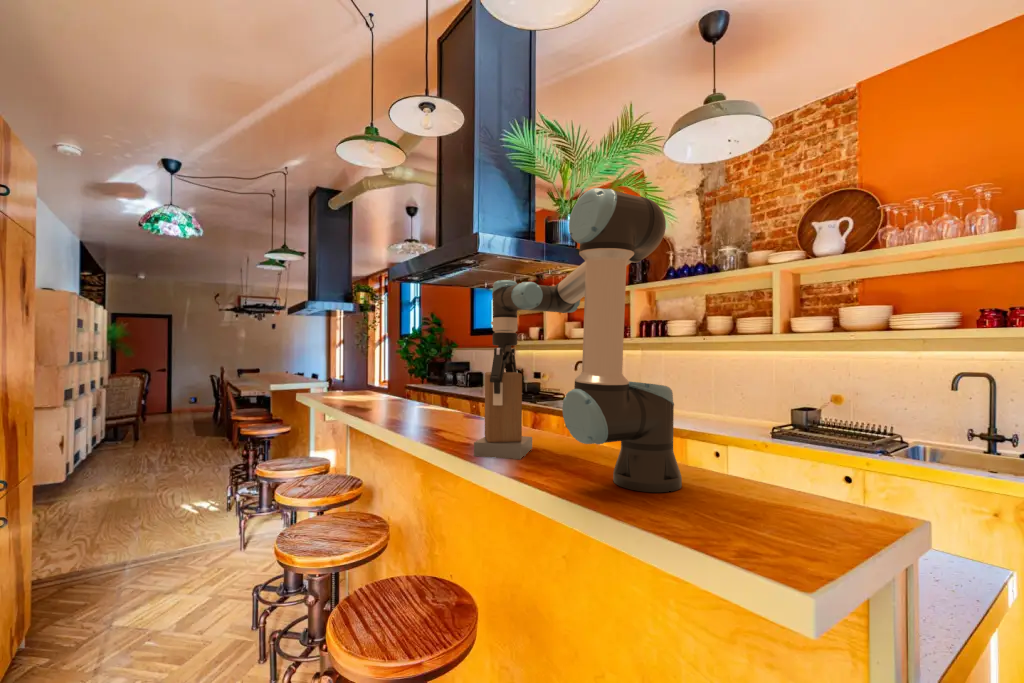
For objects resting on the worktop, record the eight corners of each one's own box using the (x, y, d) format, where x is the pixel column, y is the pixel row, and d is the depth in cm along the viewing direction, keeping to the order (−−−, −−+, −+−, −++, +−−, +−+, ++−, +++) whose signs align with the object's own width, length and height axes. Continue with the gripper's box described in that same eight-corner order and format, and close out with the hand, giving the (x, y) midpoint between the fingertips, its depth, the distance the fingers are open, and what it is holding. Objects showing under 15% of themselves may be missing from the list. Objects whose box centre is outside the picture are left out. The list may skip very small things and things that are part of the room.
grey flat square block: (520, 459, 131) (520, 445, 131) (473, 456, 135) (474, 442, 135) (532, 449, 145) (532, 436, 145) (489, 447, 148) (489, 434, 149)
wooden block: (484, 436, 144) (484, 372, 145) (516, 436, 146) (516, 372, 146) (487, 443, 134) (488, 373, 135) (521, 442, 136) (522, 373, 136)
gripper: (504, 334, 154) (504, 399, 153) (479, 330, 130) (478, 406, 129) (526, 334, 152) (526, 399, 151) (504, 329, 128) (504, 407, 127)
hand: (504, 403), depth 140 cm, fingers open, 13 cm apart
